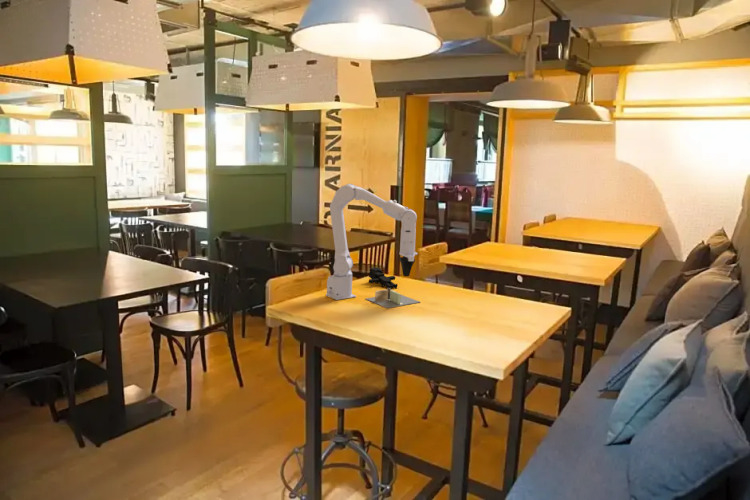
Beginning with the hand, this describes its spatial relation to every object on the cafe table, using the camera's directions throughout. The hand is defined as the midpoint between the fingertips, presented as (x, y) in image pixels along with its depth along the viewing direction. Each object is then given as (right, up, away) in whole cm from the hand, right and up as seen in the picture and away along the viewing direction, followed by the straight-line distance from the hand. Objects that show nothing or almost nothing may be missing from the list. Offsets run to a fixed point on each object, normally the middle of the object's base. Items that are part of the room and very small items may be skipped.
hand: (406, 275), depth 210 cm
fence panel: (-5, -10, -2) cm, 11 cm away
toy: (-9, -5, +25) cm, 27 cm away
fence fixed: (-9, -10, 0) cm, 13 cm away
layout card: (-5, -10, +1) cm, 11 cm away
